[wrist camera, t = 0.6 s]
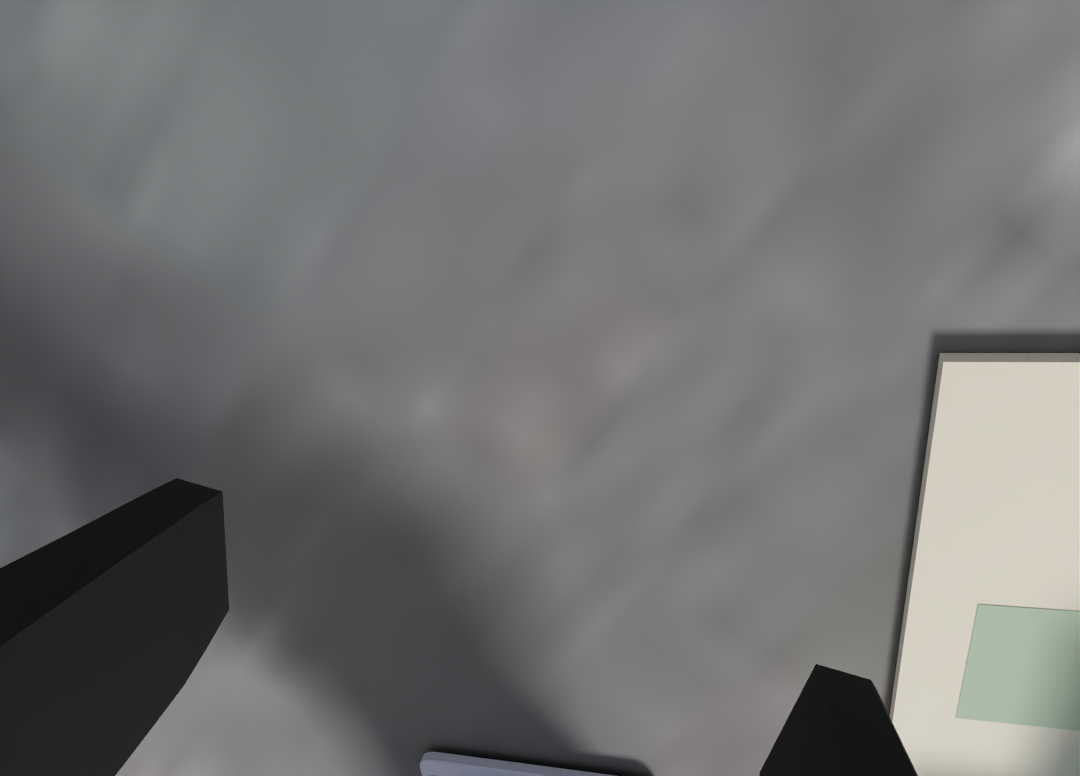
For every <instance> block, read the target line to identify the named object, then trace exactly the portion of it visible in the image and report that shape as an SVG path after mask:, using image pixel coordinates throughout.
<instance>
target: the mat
mask: <svg viewBox="0 0 1080 776" xmlns="http://www.w3.org/2000/svg"><path fill="white" fill-rule="evenodd" d="M889 716H890V719H891V721H892V723H893V725H894V727H895V729H896V731H897V733H898V735H899V737H900V739H901V742H902V744H903V746H904V748H905V750H906V752H907V754H908V756H909V758H910V760H911V762H912V764H913V766H914V768H915V770H916V773H917V775H918V776H1080V353H940V354H939V362H938V369H937V376H936V383H935V390H934V398H933V405H932V412H931V419H930V427H929V434H928V441H927V448H926V455H925V463H924V470H923V477H922V484H921V492H920V499H919V506H918V513H917V520H916V528H915V535H914V542H913V549H912V557H911V564H910V571H909V578H908V585H907V593H906V600H905V607H904V614H903V622H902V629H901V636H900V643H899V650H898V658H897V665H896V672H895V679H894V687H893V694H892V701H891V708H890V715H889Z"/></svg>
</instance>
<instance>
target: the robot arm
mask: <svg viewBox="0 0 1080 776" xmlns="http://www.w3.org/2000/svg"><path fill="white" fill-rule="evenodd" d="M228 610H229V601H228V583H227V565H226V548H225V530H224V512H223V494H222V491H219V490H215V489H212V488H208V487H205V486H201V485H198V484H194V483H191V482H188V481H184V480H181V479H177V478H176V479H174V480H172V481H170V482H168V483H166V484H164V485H162V486H160V487H158V488H156V489H154V490H152V491H150V492H148V493H146V494H144V495H142V496H140V497H138V498H136V499H134V500H132V501H130V502H128V503H127V504H125V505H123V506H121V507H119V508H117V509H115V510H113V511H111V512H109V513H107V514H105V515H104V516H102V517H100V518H98V519H96V520H94V521H92V522H90V523H88V524H86V525H84V526H83V527H81V528H79V529H77V530H75V531H73V532H71V533H69V534H67V535H65V536H63V537H61V538H59V539H57V540H55V541H53V542H51V543H49V544H48V545H46V546H44V547H42V548H40V549H38V550H36V551H34V552H32V553H30V554H28V555H26V556H24V557H22V558H20V559H18V560H16V561H14V562H12V563H10V564H8V565H6V566H4V567H2V568H0V776H115V775H116V774H117V773H118V771H119V770H120V769H121V767H122V766H123V765H124V763H125V762H126V761H127V760H128V758H129V757H130V756H131V754H132V753H133V752H134V750H135V749H136V748H137V747H138V745H139V744H140V743H141V741H142V740H143V739H144V737H145V736H146V735H147V733H148V732H149V731H150V730H151V728H152V727H153V726H154V724H155V723H156V722H157V720H158V719H159V718H160V716H161V715H162V714H163V712H164V711H165V710H166V708H167V707H168V706H169V704H170V703H171V702H172V700H173V699H174V698H175V696H176V695H177V694H178V692H179V691H180V690H181V688H182V687H183V686H184V684H185V683H186V681H187V680H188V678H189V676H190V675H191V673H192V671H193V670H194V668H195V666H196V665H197V663H198V662H199V660H200V658H201V657H202V655H203V653H204V652H205V650H206V648H207V647H208V645H209V643H210V641H211V640H212V638H213V636H214V635H215V633H216V631H217V629H218V628H219V626H220V624H221V622H222V621H223V619H224V617H225V615H226V614H227V612H228ZM420 770H421V774H422V776H616V775H608V774H601V773H593V772H586V771H578V770H570V769H563V768H555V767H548V766H540V765H532V764H525V763H517V762H510V761H502V760H494V759H487V758H479V757H472V756H464V755H456V754H449V753H441V752H427V753H425V754H424V755H423V757H422V759H421V762H420ZM760 776H918V775H917V773H916V770H915V768H914V766H913V764H912V762H911V760H910V758H909V756H908V754H907V752H906V750H905V748H904V746H903V744H902V742H901V739H900V737H899V735H898V733H897V731H896V729H895V727H894V725H893V723H892V721H891V719H890V716H889V714H888V712H887V710H886V708H885V706H884V704H883V702H882V700H881V698H880V696H879V694H878V692H877V690H876V688H875V686H874V684H873V683H872V681H871V680H869V679H866V678H862V677H859V676H855V675H852V674H848V673H845V672H842V671H838V670H835V669H831V668H828V667H824V666H821V665H817V664H816V665H815V667H814V669H813V671H812V673H811V675H810V677H809V679H808V680H807V682H806V684H805V686H804V688H803V690H802V692H801V694H800V696H799V698H798V700H797V702H796V704H795V706H794V707H793V709H792V711H791V713H790V715H789V717H788V719H787V721H786V723H785V725H784V727H783V729H782V731H781V732H780V734H779V736H778V738H777V740H776V742H775V744H774V746H773V748H772V750H771V752H770V754H769V756H768V758H767V759H766V761H765V763H764V765H763V767H762V769H761V771H760Z"/></svg>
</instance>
